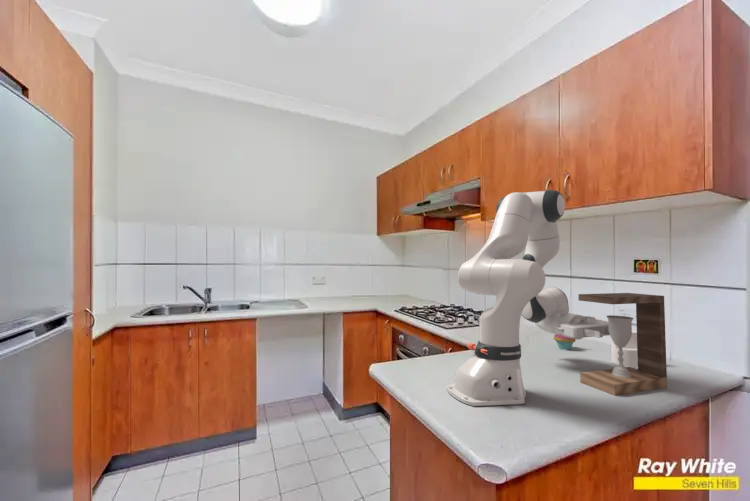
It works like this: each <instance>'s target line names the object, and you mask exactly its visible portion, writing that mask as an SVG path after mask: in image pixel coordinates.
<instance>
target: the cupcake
mask: <svg viewBox="0 0 750 501" xmlns="http://www.w3.org/2000/svg"><path fill="white" fill-rule="evenodd" d="M553 340H554V341H556V343H557V346H558V349H560V348H562V349H561V350H565V349H570V350H572V346H573V344H574V343H576V340H577V339H573V338H569V337H565V336H562V335H561V334H553Z"/></svg>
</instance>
